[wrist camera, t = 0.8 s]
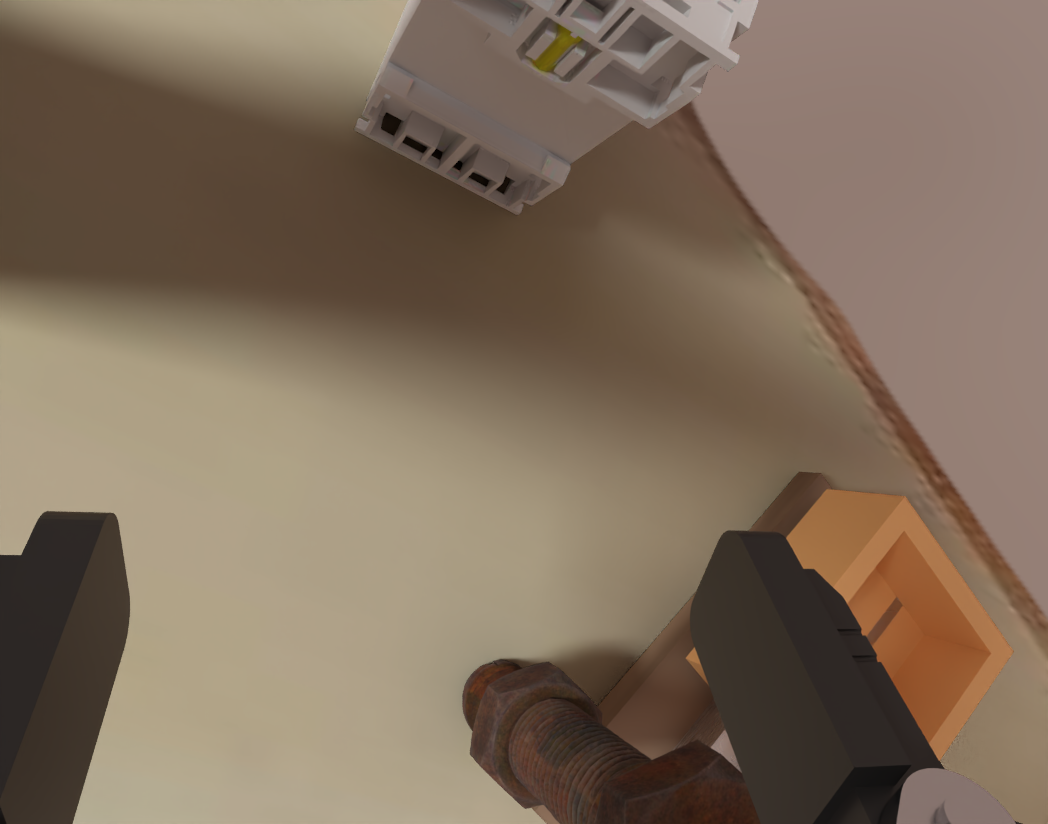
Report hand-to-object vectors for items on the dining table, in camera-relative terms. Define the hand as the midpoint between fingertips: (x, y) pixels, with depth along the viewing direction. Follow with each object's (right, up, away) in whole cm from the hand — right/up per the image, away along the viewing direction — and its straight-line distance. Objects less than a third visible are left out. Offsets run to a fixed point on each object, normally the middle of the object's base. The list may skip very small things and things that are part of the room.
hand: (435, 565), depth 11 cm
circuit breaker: (0, +18, +24) cm, 30 cm away
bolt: (0, -10, +23) cm, 25 cm away
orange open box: (+15, -9, +27) cm, 31 cm away
